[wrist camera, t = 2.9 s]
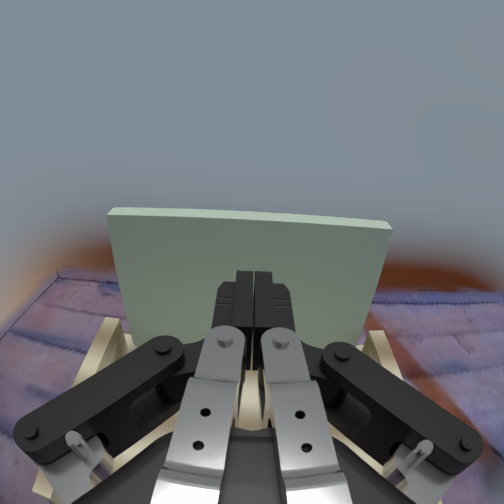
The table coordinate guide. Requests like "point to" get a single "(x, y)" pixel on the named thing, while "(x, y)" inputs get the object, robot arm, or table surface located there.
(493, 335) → the table surface
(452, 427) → the robot arm
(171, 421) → the cart bed
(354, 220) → the panel
